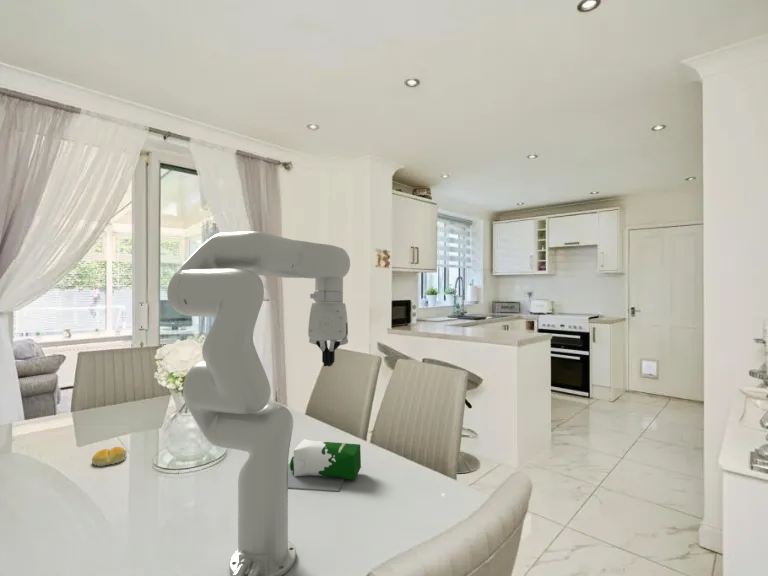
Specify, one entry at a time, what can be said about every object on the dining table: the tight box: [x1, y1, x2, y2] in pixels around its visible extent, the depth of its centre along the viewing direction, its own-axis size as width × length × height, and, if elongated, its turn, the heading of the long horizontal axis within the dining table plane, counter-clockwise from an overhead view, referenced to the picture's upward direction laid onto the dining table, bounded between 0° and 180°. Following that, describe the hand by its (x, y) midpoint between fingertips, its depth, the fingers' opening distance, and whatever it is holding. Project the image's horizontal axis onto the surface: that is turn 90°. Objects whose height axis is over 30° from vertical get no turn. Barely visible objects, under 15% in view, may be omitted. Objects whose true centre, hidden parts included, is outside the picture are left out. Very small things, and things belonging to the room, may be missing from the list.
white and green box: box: [290, 438, 362, 481], centre depth 118 cm, size 9×9×20 cm
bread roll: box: [91, 446, 127, 467], centre depth 127 cm, size 8×9×4 cm
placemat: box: [288, 462, 345, 492], centre depth 117 cm, size 16×19×1 cm
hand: (328, 365), depth 110 cm, fingers closed
